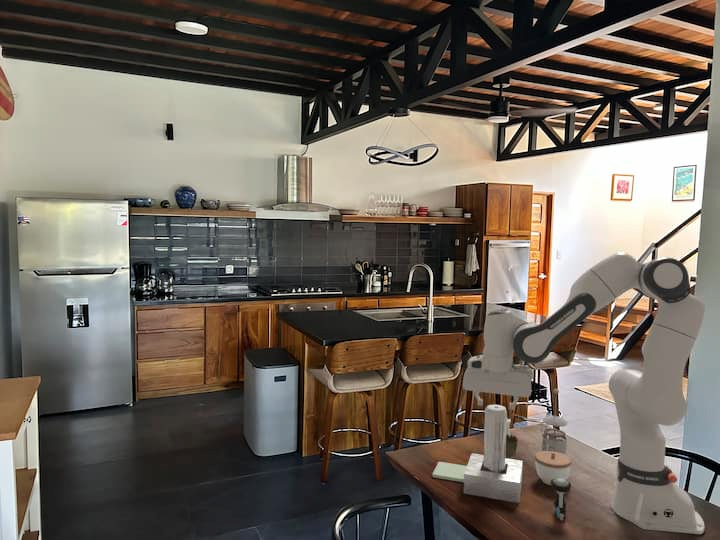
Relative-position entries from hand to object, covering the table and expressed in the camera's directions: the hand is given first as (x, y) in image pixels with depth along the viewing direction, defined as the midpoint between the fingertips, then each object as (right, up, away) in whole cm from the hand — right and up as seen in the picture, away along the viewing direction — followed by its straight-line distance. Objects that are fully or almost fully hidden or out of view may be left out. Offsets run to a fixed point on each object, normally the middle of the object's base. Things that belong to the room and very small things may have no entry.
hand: (495, 407), depth 161 cm
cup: (+9, -24, +21) cm, 33 cm away
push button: (+14, -26, -15) cm, 33 cm away
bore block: (0, -25, +2) cm, 25 cm away
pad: (-12, -24, +10) cm, 29 cm away
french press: (+25, -24, +22) cm, 41 cm away
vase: (+11, -23, +33) cm, 41 cm away
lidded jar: (+19, -25, +5) cm, 32 cm away
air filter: (0, -25, +2) cm, 25 cm away
